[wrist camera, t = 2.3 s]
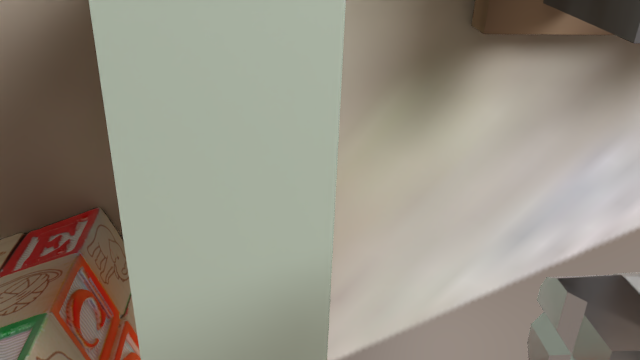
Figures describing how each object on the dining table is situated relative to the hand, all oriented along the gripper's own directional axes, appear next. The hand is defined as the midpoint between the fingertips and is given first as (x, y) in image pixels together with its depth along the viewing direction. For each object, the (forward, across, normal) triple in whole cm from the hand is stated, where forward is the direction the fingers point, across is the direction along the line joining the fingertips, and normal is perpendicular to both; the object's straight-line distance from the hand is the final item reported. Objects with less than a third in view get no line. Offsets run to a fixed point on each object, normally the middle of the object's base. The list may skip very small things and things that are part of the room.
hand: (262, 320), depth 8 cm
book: (+13, +1, 0) cm, 13 cm away
